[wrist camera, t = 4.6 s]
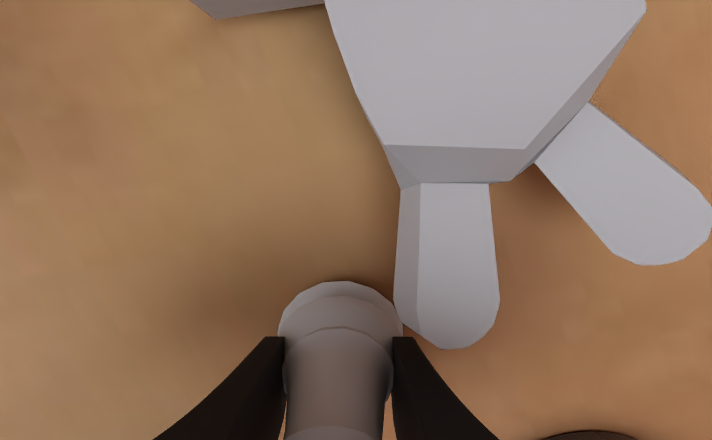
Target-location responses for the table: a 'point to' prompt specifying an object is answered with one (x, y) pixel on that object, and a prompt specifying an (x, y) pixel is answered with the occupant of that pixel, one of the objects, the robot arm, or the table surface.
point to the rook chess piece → (338, 362)
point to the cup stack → (591, 436)
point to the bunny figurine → (497, 138)
